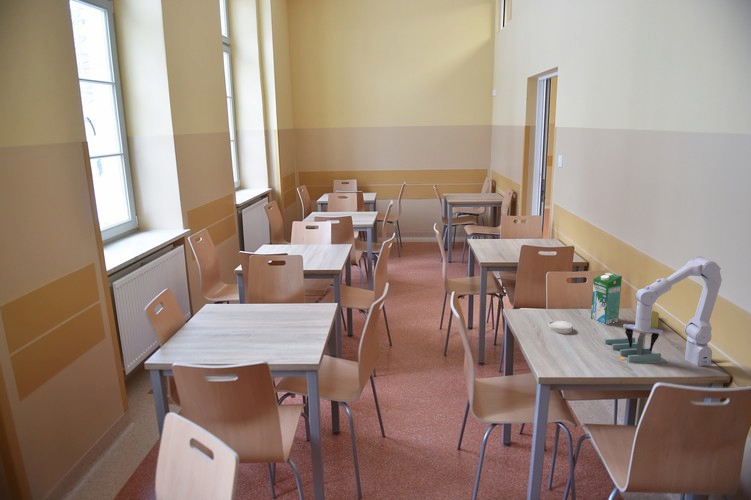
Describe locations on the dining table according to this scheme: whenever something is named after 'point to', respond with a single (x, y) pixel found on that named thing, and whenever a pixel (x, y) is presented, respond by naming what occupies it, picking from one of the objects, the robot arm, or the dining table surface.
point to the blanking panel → (641, 343)
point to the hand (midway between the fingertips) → (640, 348)
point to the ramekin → (560, 327)
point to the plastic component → (654, 319)
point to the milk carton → (606, 298)
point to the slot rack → (634, 351)
